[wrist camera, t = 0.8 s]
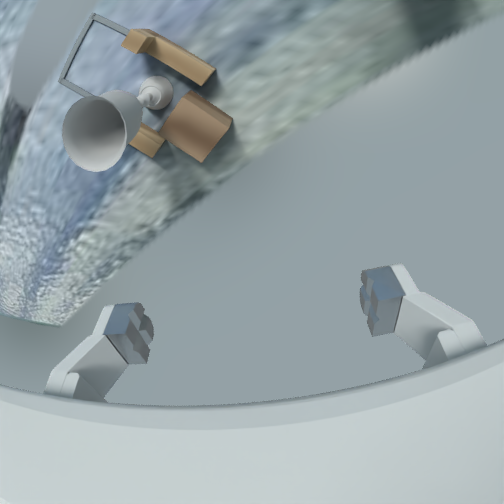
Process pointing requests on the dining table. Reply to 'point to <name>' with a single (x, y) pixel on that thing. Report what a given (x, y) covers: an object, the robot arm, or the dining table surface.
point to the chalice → (110, 123)
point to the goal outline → (76, 46)
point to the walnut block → (195, 126)
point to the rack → (174, 58)
